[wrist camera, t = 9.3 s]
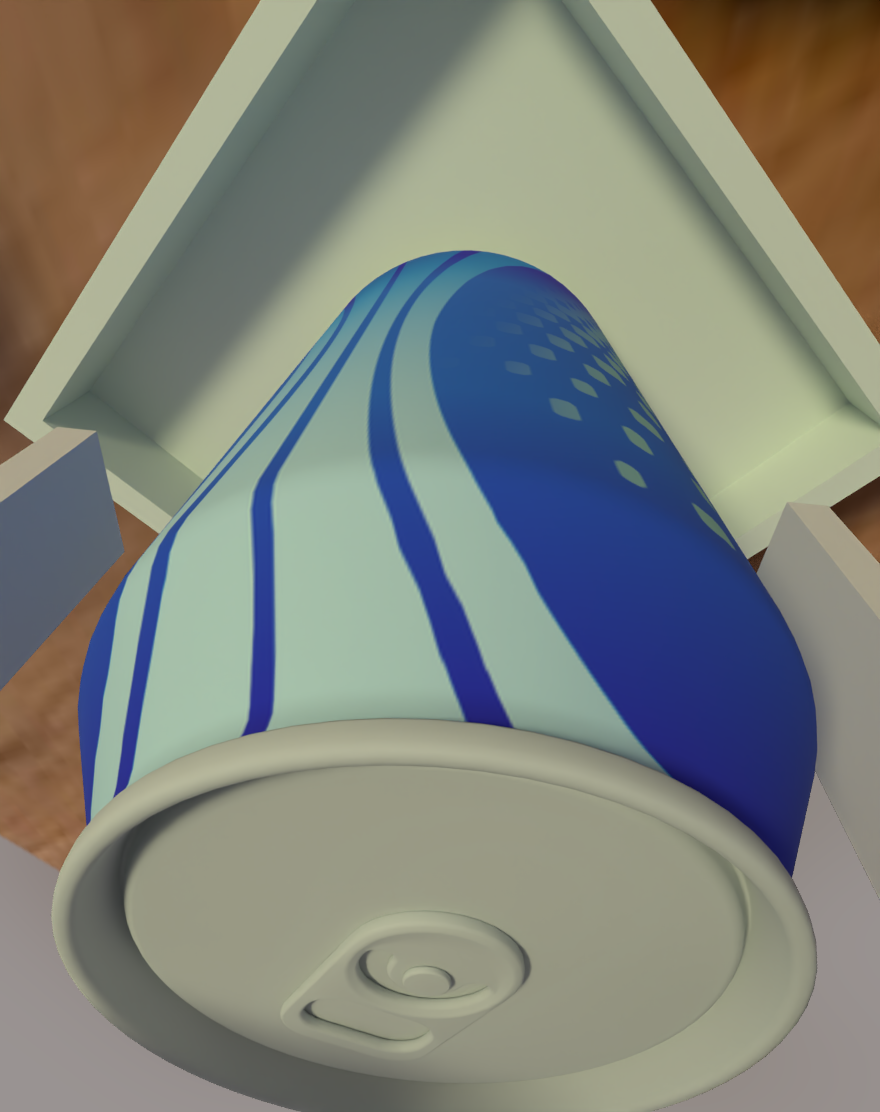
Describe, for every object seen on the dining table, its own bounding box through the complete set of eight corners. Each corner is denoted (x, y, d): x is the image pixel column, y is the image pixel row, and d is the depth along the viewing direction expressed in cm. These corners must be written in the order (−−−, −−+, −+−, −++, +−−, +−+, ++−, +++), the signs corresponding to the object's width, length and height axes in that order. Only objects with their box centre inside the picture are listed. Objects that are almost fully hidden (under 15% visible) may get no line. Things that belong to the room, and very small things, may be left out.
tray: (457, -217, 13) (447, -305, 10) (880, 395, 19) (941, 437, 16) (65, 384, 21) (3, 419, 18) (454, 686, 27) (450, 746, 24)
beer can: (272, 311, 18) (-327, 799, 5) (565, 189, 16) (986, 427, 3) (390, 551, 22) (252, 1179, 9) (635, 477, 20) (942, 1140, 7)
